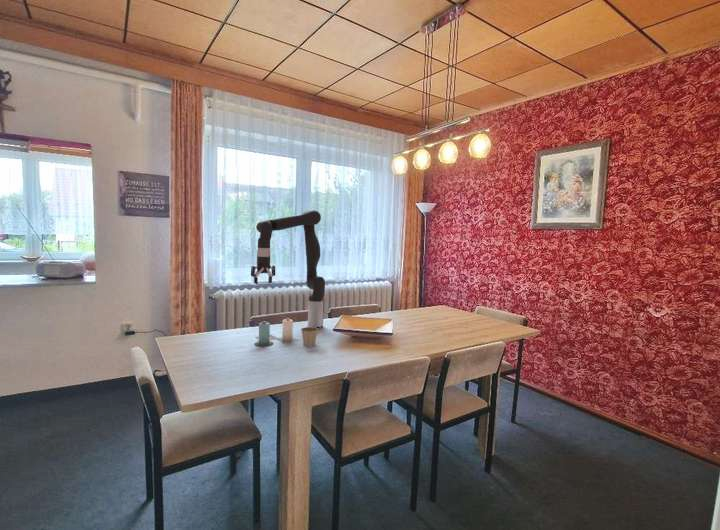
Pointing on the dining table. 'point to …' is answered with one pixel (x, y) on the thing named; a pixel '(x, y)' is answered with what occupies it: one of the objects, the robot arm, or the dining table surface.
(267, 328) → the jar teal
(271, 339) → the tile
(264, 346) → the mat
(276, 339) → the tile
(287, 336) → the peach pillar candle
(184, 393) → the dining table surface
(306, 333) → the flower pot
